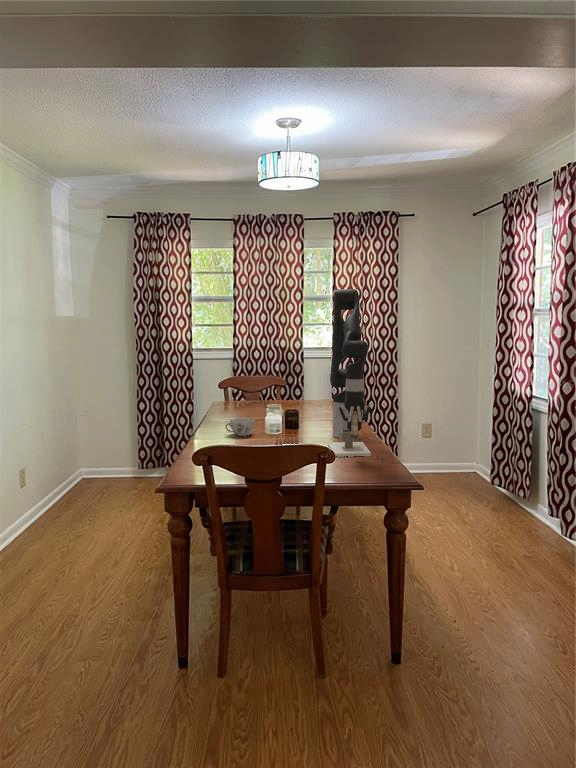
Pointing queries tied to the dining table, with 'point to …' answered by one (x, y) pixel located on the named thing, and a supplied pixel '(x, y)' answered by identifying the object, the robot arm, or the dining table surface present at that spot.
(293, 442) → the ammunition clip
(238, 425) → the teacup
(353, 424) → the rail post
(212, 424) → the dining table surface
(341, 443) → the cup bracket
